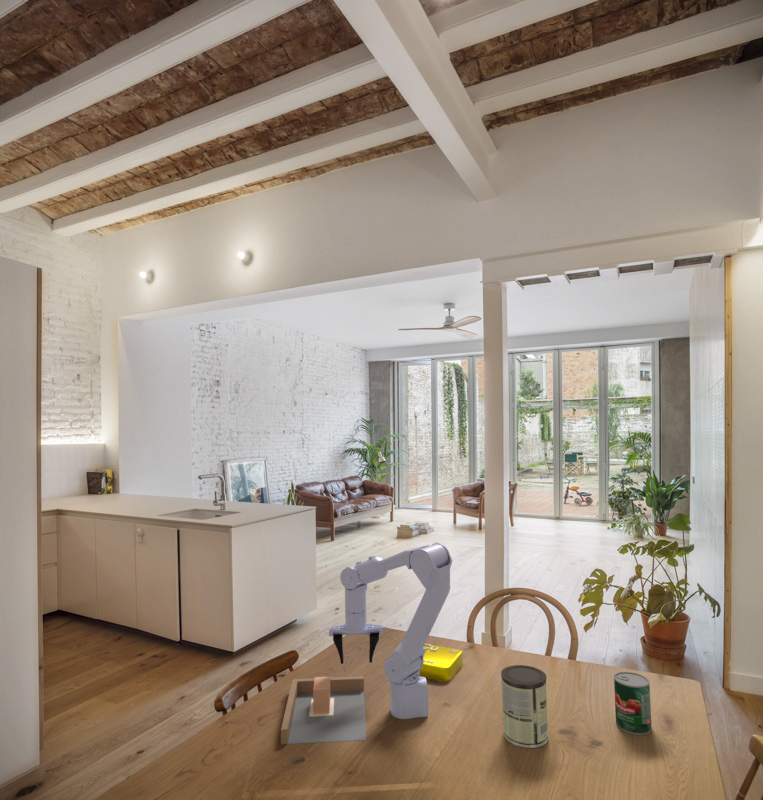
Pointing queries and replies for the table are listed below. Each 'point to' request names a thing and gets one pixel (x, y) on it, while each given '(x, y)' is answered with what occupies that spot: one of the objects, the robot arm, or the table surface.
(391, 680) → the robot arm
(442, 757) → the table surface
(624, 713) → the canned tomato
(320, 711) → the block
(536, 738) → the coffee can
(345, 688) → the arena
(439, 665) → the element tile
